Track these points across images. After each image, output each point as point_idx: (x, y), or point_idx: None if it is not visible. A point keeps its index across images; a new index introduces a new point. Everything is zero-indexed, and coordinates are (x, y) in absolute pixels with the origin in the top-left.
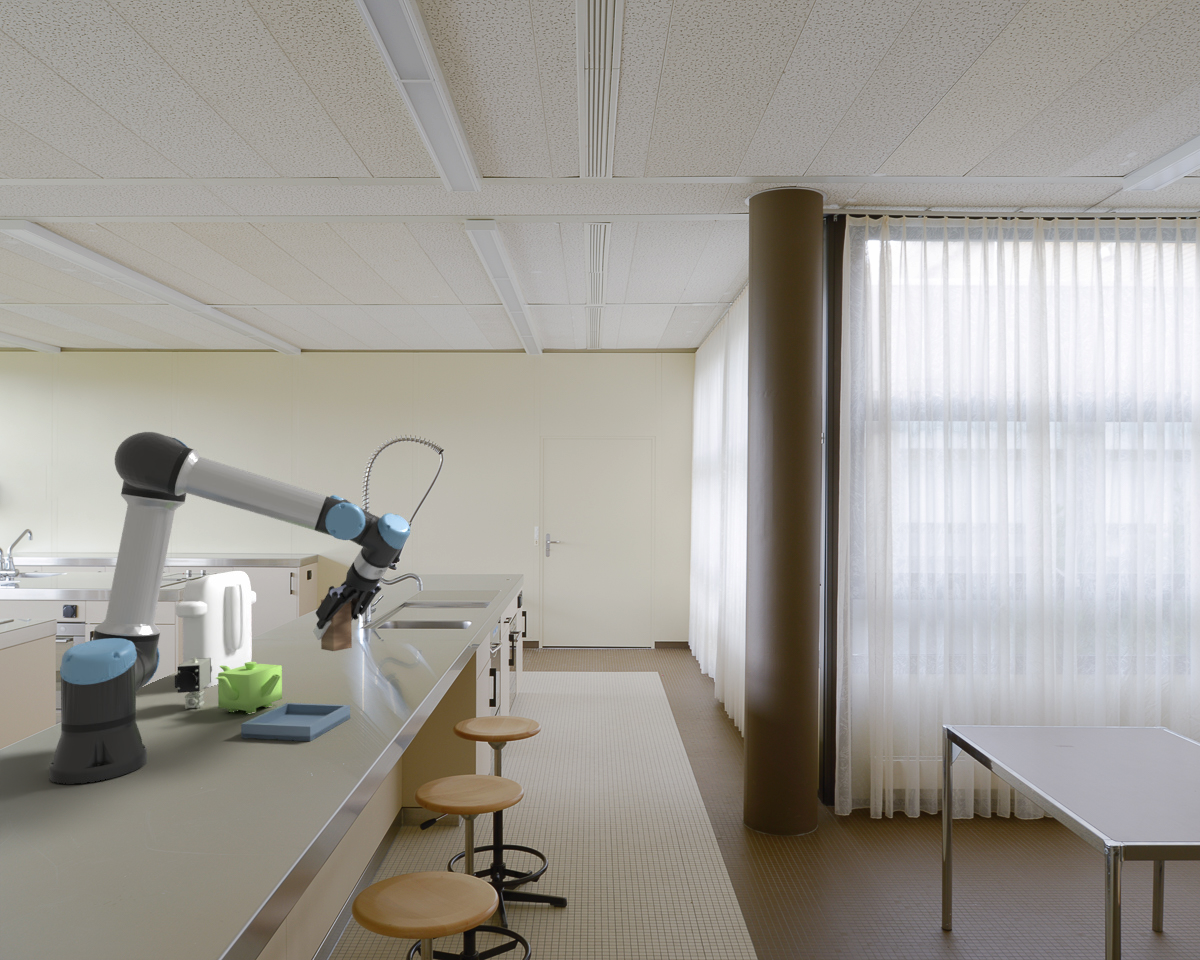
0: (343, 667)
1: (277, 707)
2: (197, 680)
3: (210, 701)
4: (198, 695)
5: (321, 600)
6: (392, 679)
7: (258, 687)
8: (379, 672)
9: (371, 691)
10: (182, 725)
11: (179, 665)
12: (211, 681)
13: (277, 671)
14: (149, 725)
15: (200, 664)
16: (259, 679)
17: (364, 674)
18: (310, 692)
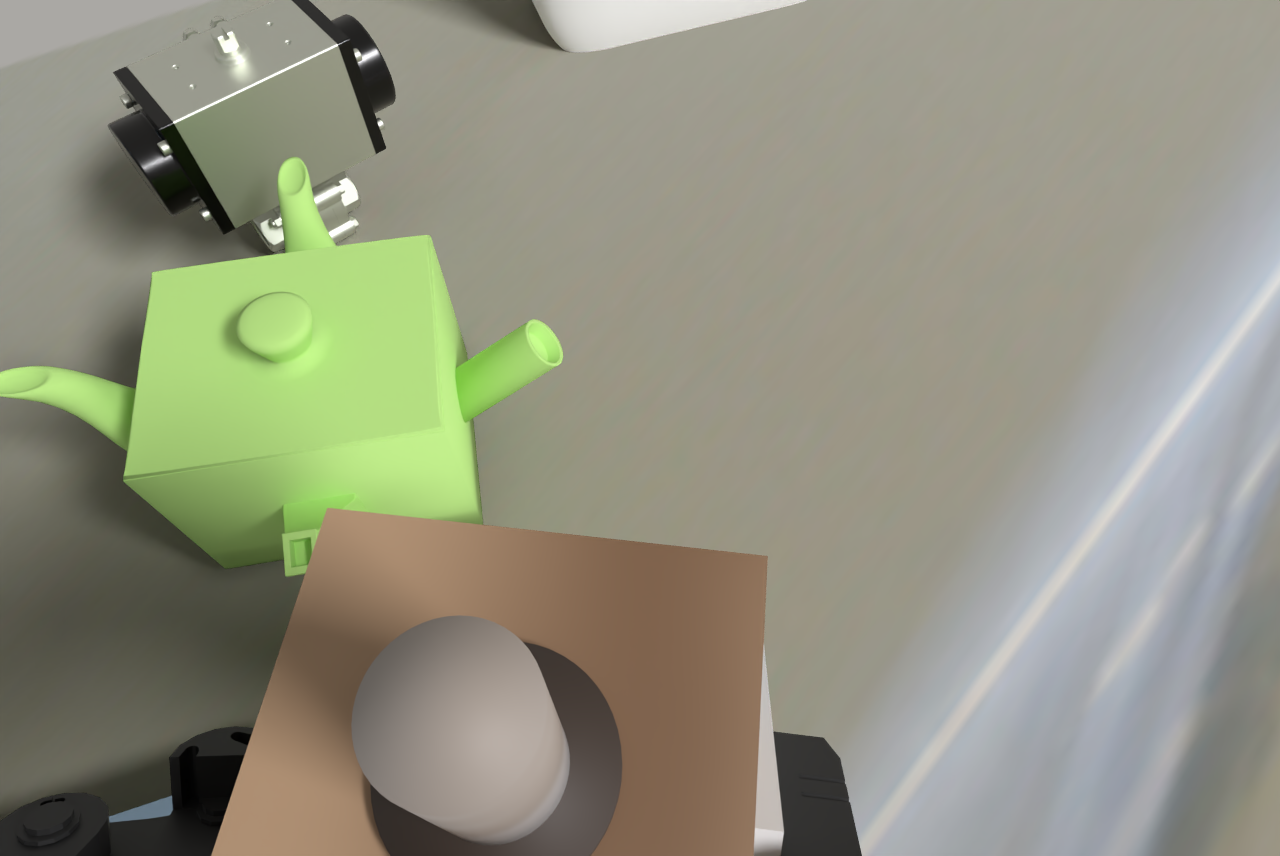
0: (1167, 231)
1: (164, 804)
2: (187, 193)
3: (408, 215)
4: (275, 222)
5: (327, 532)
6: (1241, 697)
7: (258, 509)
8: (1267, 478)
9: (961, 818)
10: (47, 423)
11: (184, 38)
12: (579, 34)
13: (410, 452)
14: (30, 306)
15: (190, 114)
16: (246, 486)
17: (1171, 437)
18: (733, 479)
